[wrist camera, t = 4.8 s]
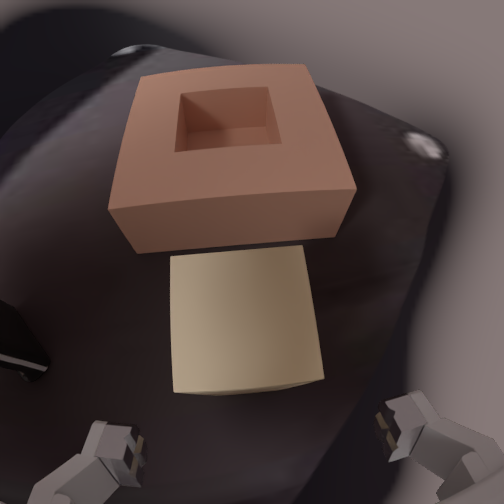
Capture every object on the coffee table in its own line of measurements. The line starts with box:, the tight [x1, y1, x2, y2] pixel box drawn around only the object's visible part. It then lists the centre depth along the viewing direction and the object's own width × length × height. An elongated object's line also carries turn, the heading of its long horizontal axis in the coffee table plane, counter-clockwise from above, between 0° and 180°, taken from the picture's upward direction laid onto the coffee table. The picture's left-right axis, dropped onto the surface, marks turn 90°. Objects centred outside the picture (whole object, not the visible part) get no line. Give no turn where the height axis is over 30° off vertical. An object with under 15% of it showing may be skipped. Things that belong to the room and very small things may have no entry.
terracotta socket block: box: [108, 64, 357, 254], centre depth 24 cm, size 15×15×6 cm
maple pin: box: [170, 245, 324, 396], centre depth 14 cm, size 4×4×12 cm
